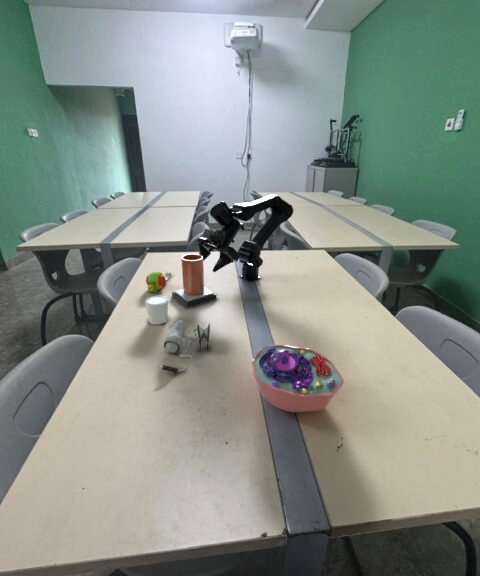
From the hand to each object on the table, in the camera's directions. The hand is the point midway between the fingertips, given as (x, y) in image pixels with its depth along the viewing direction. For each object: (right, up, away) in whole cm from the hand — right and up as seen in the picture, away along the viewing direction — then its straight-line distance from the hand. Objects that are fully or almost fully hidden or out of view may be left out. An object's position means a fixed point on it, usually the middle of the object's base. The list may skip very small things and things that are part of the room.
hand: (205, 268), depth 114 cm
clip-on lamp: (0, -25, -30) cm, 39 cm away
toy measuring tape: (-19, -6, +11) cm, 23 cm away
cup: (-4, -8, 0) cm, 9 cm away
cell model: (+27, -32, -43) cm, 60 cm away
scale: (-4, -11, +1) cm, 12 cm away
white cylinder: (-12, -18, -14) cm, 26 cm away
